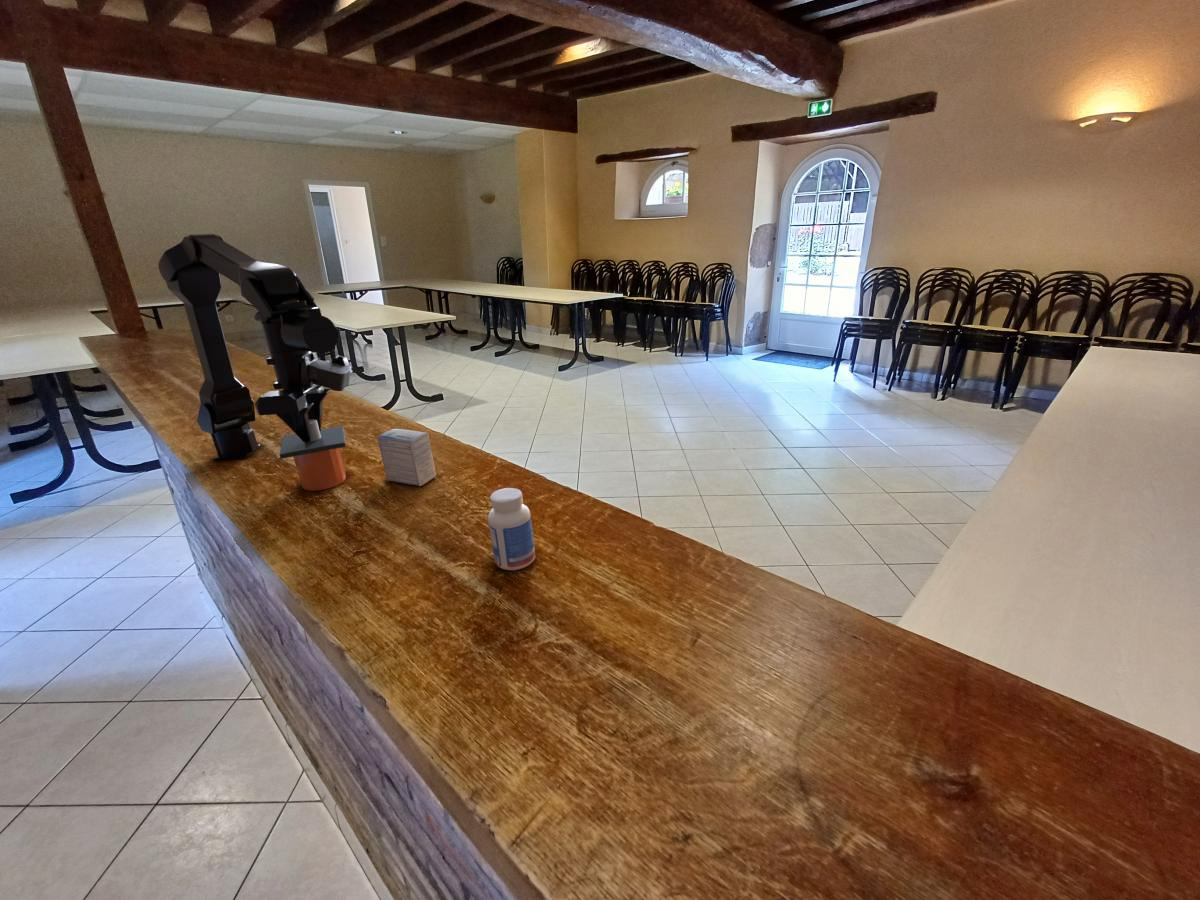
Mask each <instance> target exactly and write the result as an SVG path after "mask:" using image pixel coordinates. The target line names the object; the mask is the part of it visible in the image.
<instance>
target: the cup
mask: <svg viewBox="0 0 1200 900" xmlns="http://www.w3.org/2000/svg"><path fill="white" fill-rule="evenodd" d="M292 458H293V461H294V464H295V469H296V470H297V474H298V479H299V482H300V486H301V488H302V489H303V490H305V491H310V492H311V491H312V492H314V491H315V492H316V491H323V490H324V491H325V490H327V489H332V488H335V487H336V486H339V485H340V484H342V483H344V482H345V480H346V479H347V474H346V470H345V466H344V462H343V458H342V454H341V451H340V448H336V449H330V450H325V451H320V452H314V453H309V454H304V455H299V456H293V457H292Z"/></svg>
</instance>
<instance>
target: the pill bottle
mask: <svg viewBox="0 0 1200 900" xmlns="http://www.w3.org/2000/svg"><path fill="white" fill-rule="evenodd" d="M489 498H490V506H491V508H492V509H491V510H490V511H489V512H488V516H487V521H488V528H489V532H490V533H489V534H490V539H491V546H492V553H493V559H494V562H495V564H496V566H497V567H498V568H500V569H502V570H506V571H517V570H521V569H524V568H526V567H528V566H530V565H531V564H532V563H533V562H534V560H535V558H536V550H535V542H534V533H533V526H532V519H531V511H530V508H529V506H527V505H525V504H524V499H523V493H522V491H521V490H520V489H519V488H515V487H505V488H500V489H497V490H495V491H493V492H492V493H491V494H490V497H489Z"/></svg>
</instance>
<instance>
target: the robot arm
mask: <svg viewBox="0 0 1200 900" xmlns="http://www.w3.org/2000/svg"><path fill="white" fill-rule="evenodd" d="M157 264H158V267H157V268H158V270H159V274H160V276H161V278H162V279H163V280H164V281H165V283H166V285H167V288H168V290H169V291H170V292H171V293H172V294H173V295H174V296H175V297H176V298H177V299H178V300H180V301H181V302H182V303H183V306H184V310H185V313H186V318H187V320H188V324H189V327H190V332H191V334H192V338H193V342H194V345H195V349H196V353H197V356H198V359H199V363H200V366H201V371H202V374H203V378H204V379H203V382H202V385H201V388H200V390H199V392H198V396H199V401H200V405H199V410H198V414H197V419H196V423H197V424H198V426H199V429H200V430H201V431H202V432H204V433H207V434H210V437H211V439H212V442H213V445H214V448H215V452H216V455H215V456H214V457H213V460H214V461H223V460H234V459H235V460H236V459H245V458H248V457H249V456H251V455H252V454H254V453H255V452H256V451H257V450H259V449H260V448H261V447H262V446H261V444H260V443H259V444H258V441H257V437H256V434H255V432H254V429H253V428H251V425H250V423H252V422H256V412H257V415H258V416H271V415H274V416H275V415H276V416H277V417H278V418H279V419H280V420H281V421H282V422H283V423H285V425H287V427H289V429H290V430H291V431H292V432H293V434H296V435H297V436H298V437H299V438H300V439H301V440H302V441H303V442H310V440H311V439H310V428H309V420H312V419H313V420H317V423H318V427H319V431H321V429H322V420H323V419H322V418H323V404H324V400H325V399H326V397H327V396H328V395H329V393H331V391H334V392H342V391H344V390H345V388H346V387H349V384H350V378H351V375H353V372H354V371H353V370H352V365H350V363H349V361H348V358H347V357H346V356H343V355H339V354H338V355H336V356H335V357H334V358H333V359H332V360H331V361H330V360H329V359H327V360H321V359H319V358H318V354H328V353H329V352H331V351H333V350H334V349H335V348H336V346H337V344H338V342H339V330H338V328H337V326H336V325H335V323H334V322H333V321H332V319H330V318H329V317H327V316H324V315H322V310H321V308H320V307H318V305H317V303H316V301H315V298H314V297H313V296H312V294H311V293H310V292H309V291H308V290H307V288H306V287H305V285H304V284H303V282H302V281H301V280H300V278H299V276H298V275H297V274H296V273H295V272H294V270H292V269H291V268H290V267H288V266H284V265H281V264H278V263H272V262H262V261H259V260H257V259H255V258H253V257H251V256H250V255H249V254H246V253H245V252H243V251H242V250H240V249H238V248H236V247H235V246H233V245H231V244H229V243H228V242H227V241H225V240H224V239H223V238H222V237H221V236H220V235H219V234H218V235H217V234H215V233H195V234H194V233H193V234H189V235H186V236H184V237H183V238H182V240H181V242H179V243H178V244H176V245H174V246H172V247H170V248H168V249H167V250H165V251H164V252H163V254H162V256H161V257H160V259H159V261H158V263H157ZM221 276H223V277H225V278H227V279H228V280H230V281H231V282H233V283H235V284H236V285H238V287H240V296H241V297H243V298H244V299H245V300H246V301H247V302H248V303H250V305H252V307H254V308H255V309H256V310H257V311H256V313H255V314H254V320H255V321H257V322H260V323H261V327H262V331H263V334H264V338H265V341H266V344H267V348H268V352H269V355H270V356H269V357H267V358H266V359H265V362H266V366H273V369H274V373H275V376H276V381H275V382H273V383H272V386H273V389H274V390H269V391H267V392H266V393H265V392H264V394H262V395H260V396H259V397H258V398H257V399H256V401H254V400H253V398H252V396H251V391H250V389H249V387H247V386H246V385H244V384H243V383H242V382H241V381H240V380H238V379H237V378H236V377H235V374H234V373H235V372H234V369H233V365H232V362H231V359H230V354H229V351H228V346H227V342H226V338H225V335H224V334H225V333H224V330H223V327H222V323H221V319H220V314H219V311H218V307H217V301H218V298H219V296H220V293H221V291H222V288H223V287H222V286H223V284H222V278H221ZM255 411H256V412H255Z"/></svg>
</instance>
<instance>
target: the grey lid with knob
mask: <svg viewBox="0 0 1200 900" xmlns="http://www.w3.org/2000/svg"><path fill="white" fill-rule="evenodd" d="M309 428H310V439H311V440H310V442H303V441H302V440H301V439H300V438H299V437H298V436H297V435H296V434H295V433H292V434H287V435H282V438H281V444H280V451H279V458H280V460H281V459H288V458H294V457H293V456H299V455H304V454H309V453H314V452H320V451H325V450H330V449H336V448H339V449H341V448H346V447H347V444H346V436H345V435H346V434H345V428H344V425H338V426H333V427H332V426H331V427H325V428H321V431H319V427H318V423H317V420H313V419H312V420H309Z"/></svg>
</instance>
